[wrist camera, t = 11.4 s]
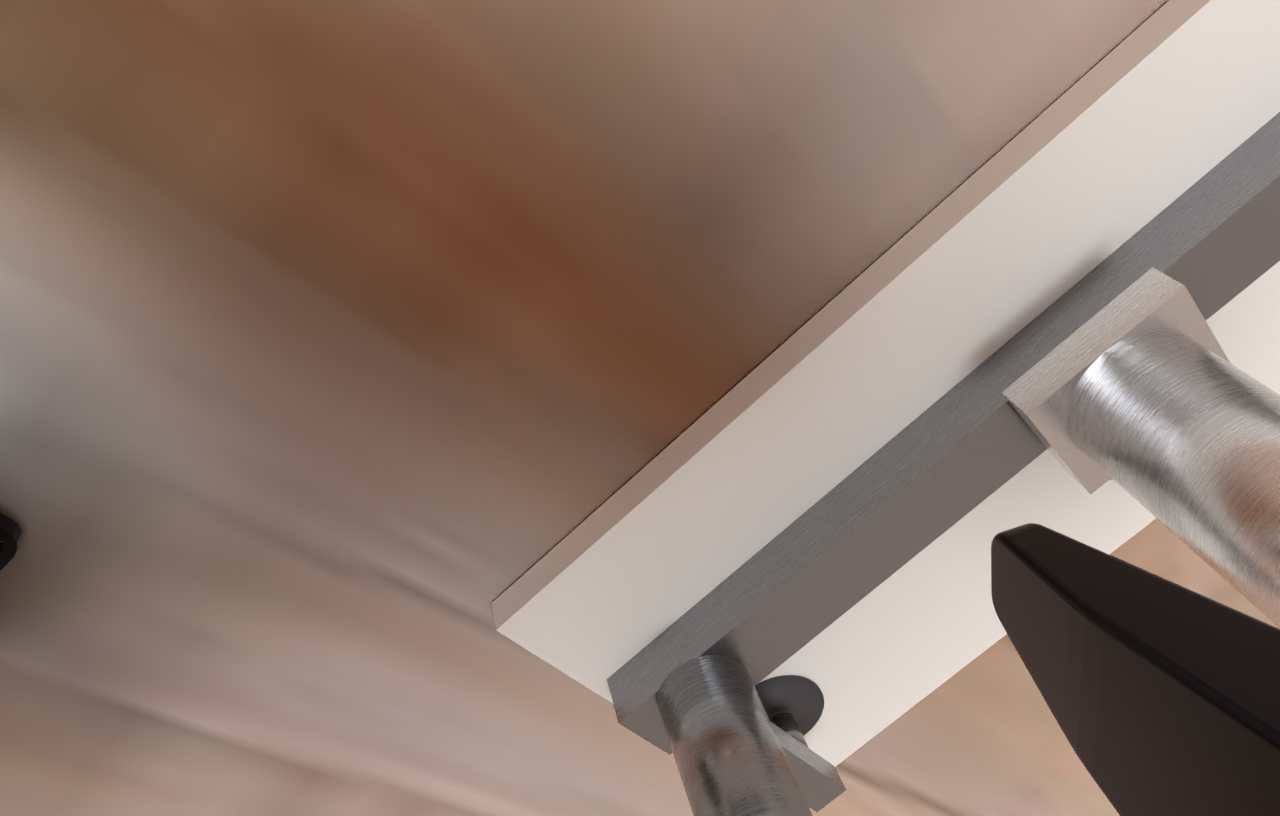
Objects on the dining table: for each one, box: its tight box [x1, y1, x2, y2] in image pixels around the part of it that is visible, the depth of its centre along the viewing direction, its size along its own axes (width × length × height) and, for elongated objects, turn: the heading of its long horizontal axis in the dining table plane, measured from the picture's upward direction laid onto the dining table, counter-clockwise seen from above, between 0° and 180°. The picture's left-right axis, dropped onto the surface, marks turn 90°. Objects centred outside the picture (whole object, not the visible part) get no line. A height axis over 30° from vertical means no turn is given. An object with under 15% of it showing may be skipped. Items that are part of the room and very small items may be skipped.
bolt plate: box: [492, 0, 1280, 767], centre depth 25 cm, size 26×12×1 cm, turn 133°
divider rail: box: [607, 112, 1280, 816], centre depth 23 cm, size 25×6×6 cm, turn 133°
